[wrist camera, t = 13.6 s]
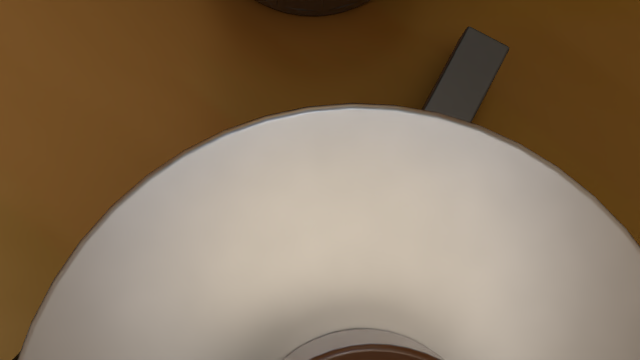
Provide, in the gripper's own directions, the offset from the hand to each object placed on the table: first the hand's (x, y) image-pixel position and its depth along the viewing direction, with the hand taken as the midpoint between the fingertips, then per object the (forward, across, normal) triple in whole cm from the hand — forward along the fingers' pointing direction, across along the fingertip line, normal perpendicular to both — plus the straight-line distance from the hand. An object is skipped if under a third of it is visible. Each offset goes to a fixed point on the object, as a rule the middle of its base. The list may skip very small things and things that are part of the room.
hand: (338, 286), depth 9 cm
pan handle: (+6, -3, +2) cm, 7 cm away
